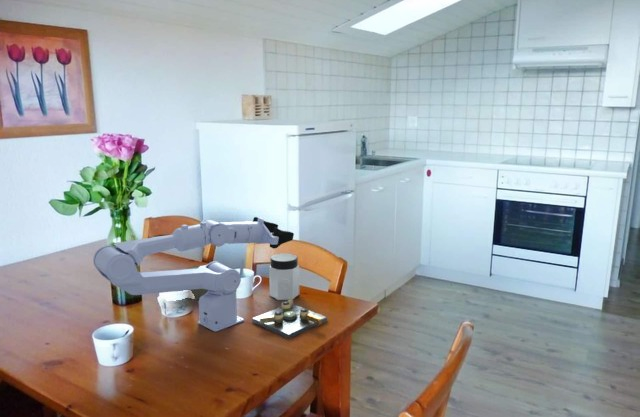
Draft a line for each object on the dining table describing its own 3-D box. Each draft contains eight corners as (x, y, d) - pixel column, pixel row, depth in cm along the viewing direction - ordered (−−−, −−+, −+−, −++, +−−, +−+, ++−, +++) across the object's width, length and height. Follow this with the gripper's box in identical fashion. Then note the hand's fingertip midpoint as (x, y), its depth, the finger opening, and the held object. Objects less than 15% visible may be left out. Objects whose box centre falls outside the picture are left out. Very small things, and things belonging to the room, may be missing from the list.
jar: (270, 301, 150) (269, 262, 147) (269, 291, 158) (268, 253, 155) (300, 299, 151) (300, 260, 148) (298, 289, 159) (297, 252, 156)
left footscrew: (282, 318, 134) (281, 310, 133) (284, 322, 132) (283, 313, 131) (259, 321, 132) (259, 312, 132) (261, 325, 130) (260, 316, 130)
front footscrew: (297, 318, 134) (297, 309, 134) (304, 315, 136) (304, 307, 136) (317, 326, 130) (317, 317, 129) (323, 323, 131) (323, 314, 131)
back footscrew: (289, 312, 138) (289, 304, 137) (280, 312, 138) (280, 303, 138) (295, 304, 143) (295, 296, 143) (287, 303, 144) (287, 295, 143)
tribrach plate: (288, 338, 126) (288, 328, 125) (252, 322, 135) (252, 312, 135) (326, 321, 136) (326, 311, 135) (290, 307, 145) (290, 298, 145)
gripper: (261, 226, 129) (302, 226, 138) (232, 210, 140) (272, 211, 149) (256, 252, 131) (297, 250, 140) (228, 234, 141) (268, 234, 150)
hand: (284, 232), depth 144 cm, fingers open, 7 cm apart
